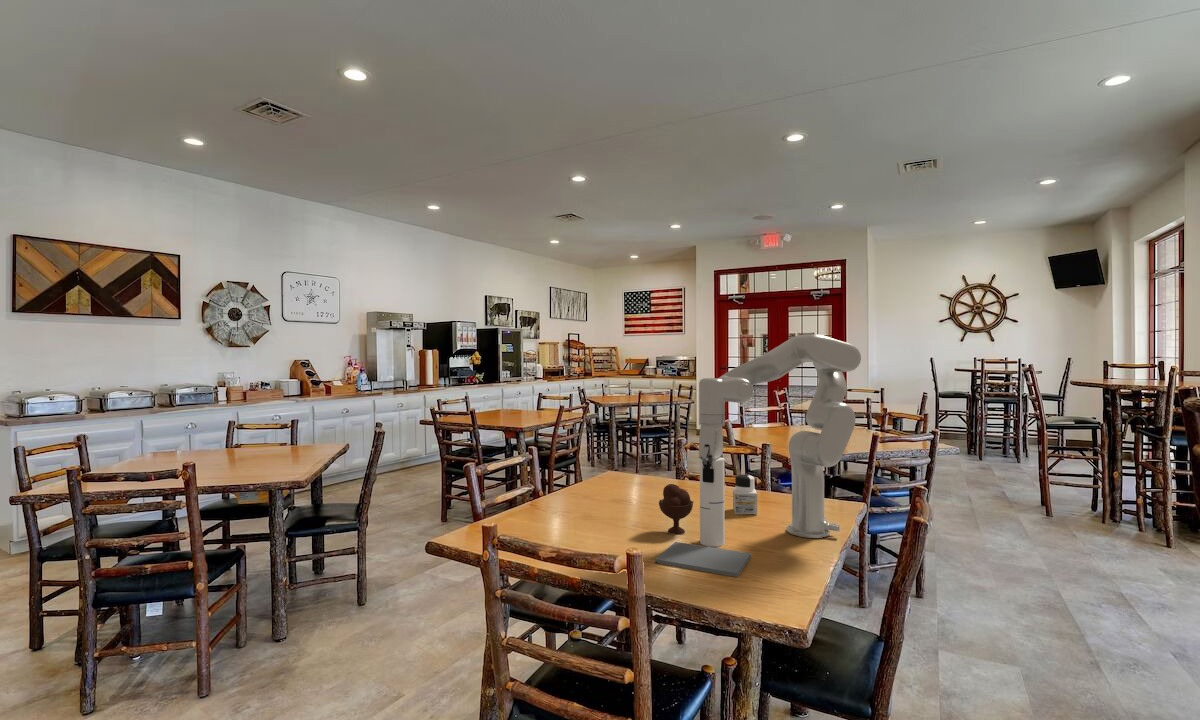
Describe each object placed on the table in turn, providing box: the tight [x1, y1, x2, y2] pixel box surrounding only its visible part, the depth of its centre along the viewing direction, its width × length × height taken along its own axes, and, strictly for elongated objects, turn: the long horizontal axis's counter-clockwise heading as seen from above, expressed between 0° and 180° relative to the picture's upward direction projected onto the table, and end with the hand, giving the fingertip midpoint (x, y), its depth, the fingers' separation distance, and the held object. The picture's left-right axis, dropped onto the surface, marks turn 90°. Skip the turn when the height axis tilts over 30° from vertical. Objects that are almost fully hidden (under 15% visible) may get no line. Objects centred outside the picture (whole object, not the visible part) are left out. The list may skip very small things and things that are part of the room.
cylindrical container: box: [699, 456, 726, 548], centre depth 167 cm, size 7×7×25 cm
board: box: [654, 541, 752, 578], centre depth 153 cm, size 22×16×1 cm
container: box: [732, 474, 758, 515], centre depth 200 cm, size 8×8×13 cm
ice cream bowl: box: [658, 483, 694, 536], centre depth 177 cm, size 11×11×15 cm
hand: (712, 479), depth 167 cm, fingers closed on cylindrical container, 7 cm apart
